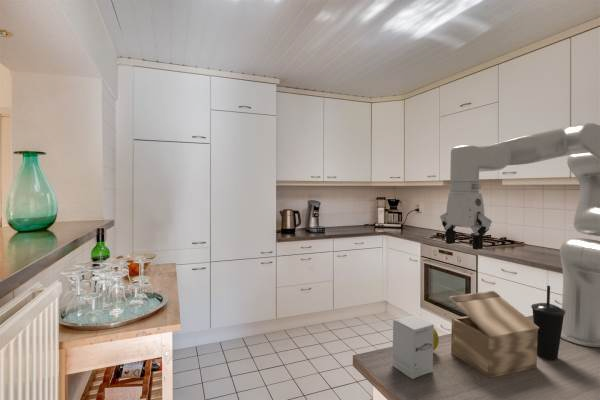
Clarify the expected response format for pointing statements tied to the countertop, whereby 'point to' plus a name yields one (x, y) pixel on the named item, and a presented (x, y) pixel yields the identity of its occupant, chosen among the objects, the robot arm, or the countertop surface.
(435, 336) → the lemon
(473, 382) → the countertop surface
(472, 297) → the lid flap
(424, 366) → the supplement box
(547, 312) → the drinking cup
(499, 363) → the light brown boxy piece
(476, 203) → the robot arm
